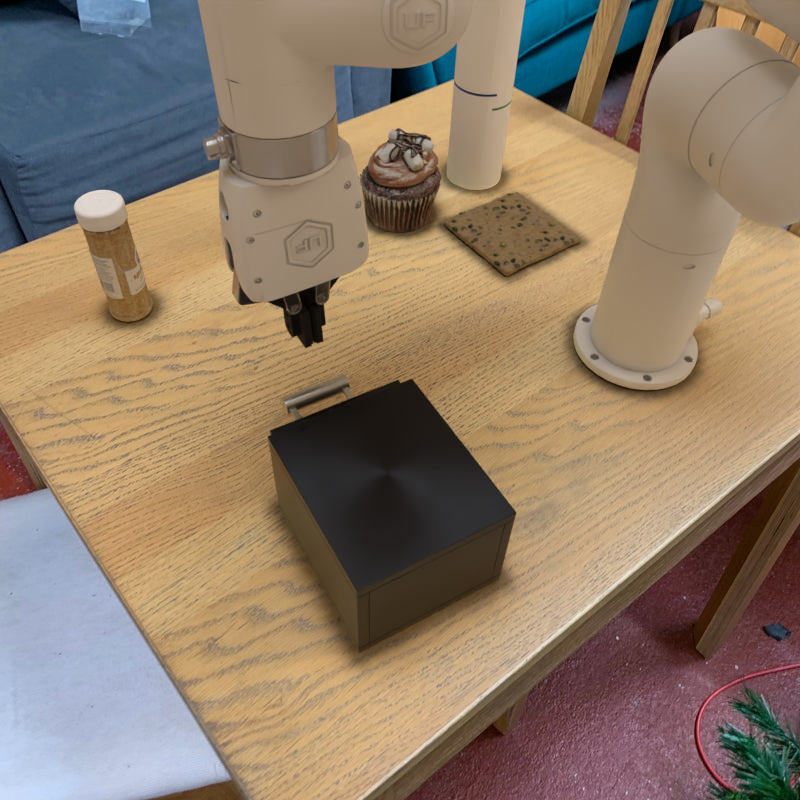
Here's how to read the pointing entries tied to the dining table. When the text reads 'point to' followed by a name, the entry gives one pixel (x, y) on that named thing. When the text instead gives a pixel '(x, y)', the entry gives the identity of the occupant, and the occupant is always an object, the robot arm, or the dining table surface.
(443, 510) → the black drawer box
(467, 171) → the cylindrical container
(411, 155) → the cupcake
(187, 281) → the dining table surface
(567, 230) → the cookie
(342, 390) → the black drawer
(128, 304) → the spice jar
